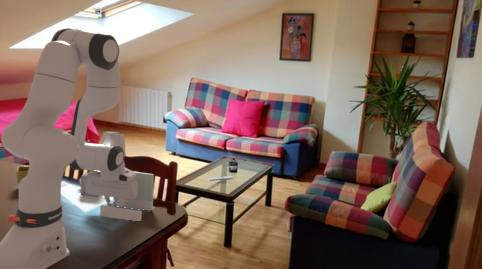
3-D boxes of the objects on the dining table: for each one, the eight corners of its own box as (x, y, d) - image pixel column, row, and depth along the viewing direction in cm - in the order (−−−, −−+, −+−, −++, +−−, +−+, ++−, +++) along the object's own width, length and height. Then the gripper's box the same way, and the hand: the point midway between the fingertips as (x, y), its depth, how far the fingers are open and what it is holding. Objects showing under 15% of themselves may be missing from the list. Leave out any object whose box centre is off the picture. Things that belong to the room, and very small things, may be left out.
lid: (152, 174, 153) (153, 174, 153) (114, 169, 155) (115, 169, 156) (152, 201, 156) (153, 200, 156) (115, 196, 158) (115, 195, 159)
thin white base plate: (140, 222, 145) (140, 212, 144) (100, 216, 147) (100, 206, 147) (152, 210, 157) (152, 201, 156) (115, 205, 159) (115, 195, 158)
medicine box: (102, 193, 171) (103, 174, 169) (98, 197, 167) (98, 177, 165) (85, 191, 172) (85, 172, 170) (80, 194, 167) (80, 175, 166)
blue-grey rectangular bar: (137, 218, 149) (137, 212, 149) (113, 215, 150) (113, 209, 150) (140, 215, 152) (141, 210, 152) (116, 212, 153) (116, 206, 153)
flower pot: (18, 186, 171) (18, 166, 169) (40, 184, 175) (40, 165, 173) (16, 192, 163) (16, 172, 162) (40, 191, 167) (39, 171, 165)
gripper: (82, 171, 148) (82, 205, 150) (133, 178, 145) (132, 213, 147) (91, 167, 154) (91, 200, 156) (140, 173, 151) (139, 207, 153)
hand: (111, 206), depth 152 cm, fingers closed
